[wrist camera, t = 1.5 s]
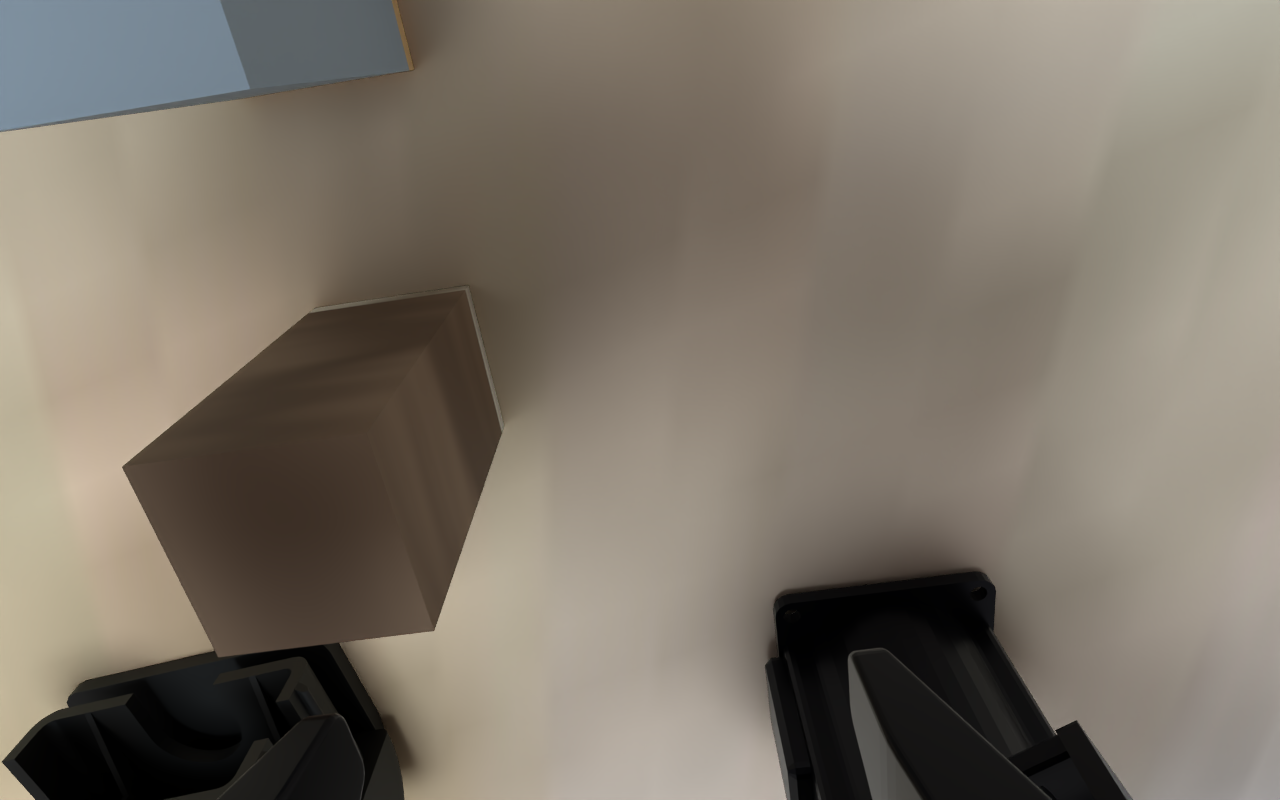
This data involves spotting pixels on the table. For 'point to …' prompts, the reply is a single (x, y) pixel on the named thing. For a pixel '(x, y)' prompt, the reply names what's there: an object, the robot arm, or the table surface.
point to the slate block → (183, 53)
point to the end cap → (197, 727)
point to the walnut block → (330, 476)
